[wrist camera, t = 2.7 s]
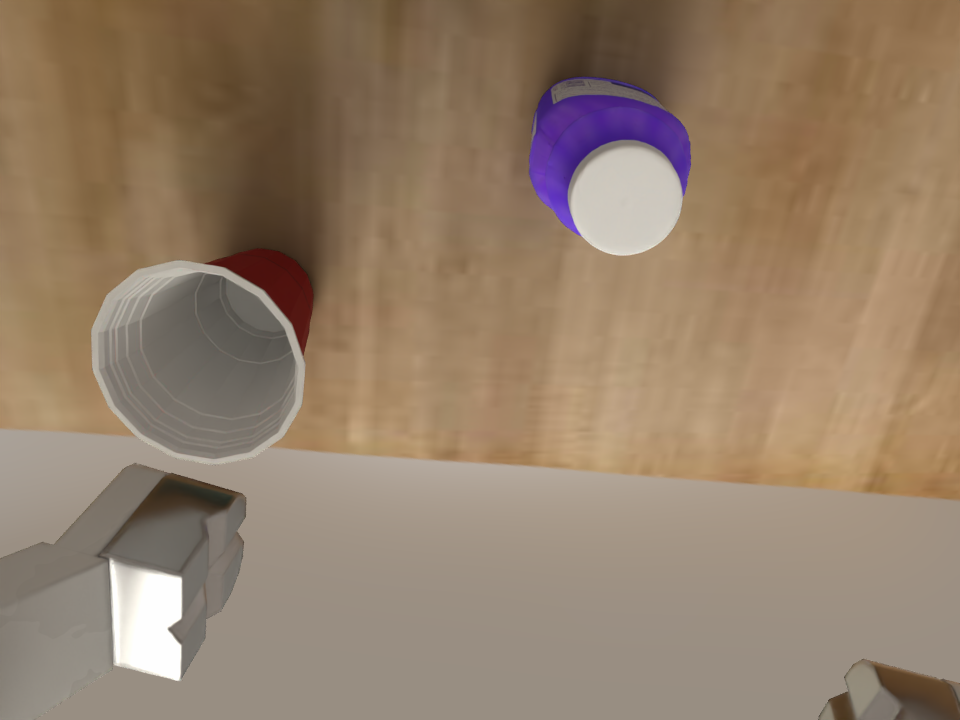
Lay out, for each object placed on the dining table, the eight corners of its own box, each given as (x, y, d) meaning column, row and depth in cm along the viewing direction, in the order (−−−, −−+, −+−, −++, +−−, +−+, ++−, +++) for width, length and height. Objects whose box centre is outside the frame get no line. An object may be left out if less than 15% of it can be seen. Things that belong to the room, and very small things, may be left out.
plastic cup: (343, 199, 47) (286, 262, 36) (362, 364, 51) (318, 464, 40) (166, 205, 47) (58, 268, 37) (201, 367, 52) (114, 465, 41)
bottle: (521, 167, 45) (516, 262, 30) (540, 64, 43) (545, 106, 27) (645, 189, 45) (706, 294, 30) (671, 87, 43) (752, 142, 27)
